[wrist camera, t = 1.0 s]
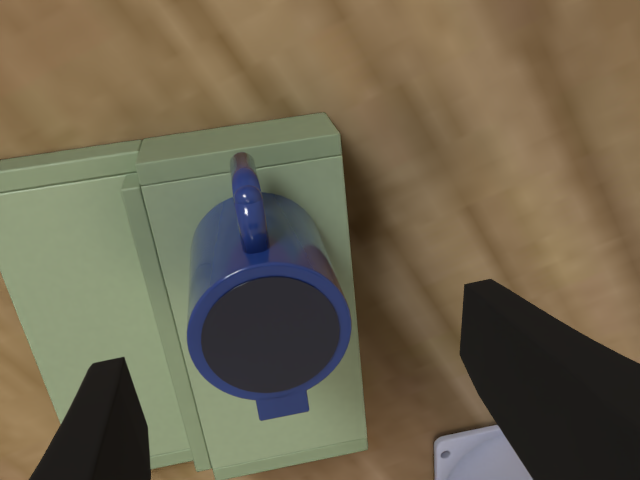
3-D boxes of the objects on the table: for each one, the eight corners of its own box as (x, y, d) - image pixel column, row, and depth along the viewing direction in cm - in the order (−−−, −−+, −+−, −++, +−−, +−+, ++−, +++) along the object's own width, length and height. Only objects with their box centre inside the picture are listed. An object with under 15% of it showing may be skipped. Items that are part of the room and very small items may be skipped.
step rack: (354, 406, 30) (368, 450, 28) (89, 459, 29) (77, 511, 26) (325, 111, 24) (340, 133, 21) (-24, 162, 22) (-55, 192, 19)
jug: (328, 310, 24) (360, 403, 19) (207, 332, 23) (207, 434, 19) (308, 129, 21) (339, 186, 16) (166, 150, 20) (153, 216, 15)
